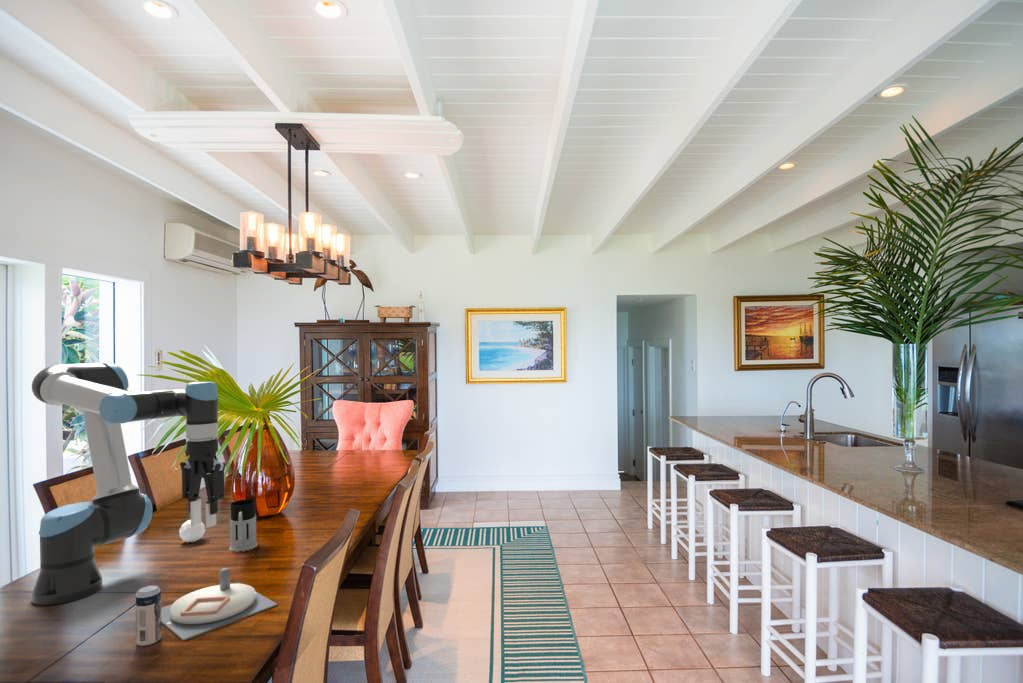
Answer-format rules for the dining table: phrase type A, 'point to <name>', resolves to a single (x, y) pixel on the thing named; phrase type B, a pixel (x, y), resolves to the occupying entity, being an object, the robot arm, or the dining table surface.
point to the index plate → (197, 629)
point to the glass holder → (243, 525)
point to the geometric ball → (191, 531)
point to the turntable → (213, 602)
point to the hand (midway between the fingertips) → (203, 525)
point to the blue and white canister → (148, 615)
